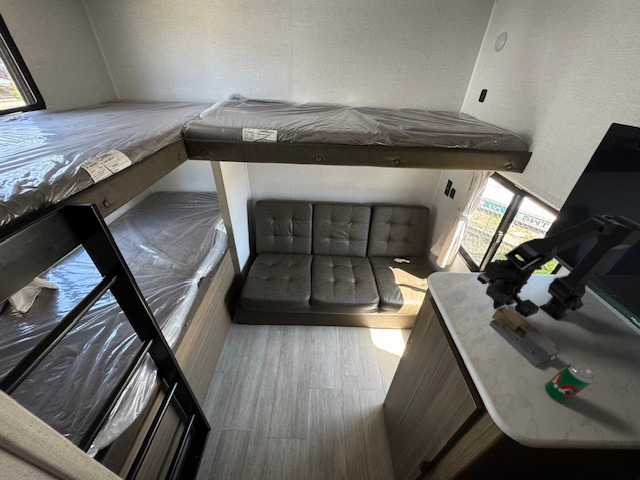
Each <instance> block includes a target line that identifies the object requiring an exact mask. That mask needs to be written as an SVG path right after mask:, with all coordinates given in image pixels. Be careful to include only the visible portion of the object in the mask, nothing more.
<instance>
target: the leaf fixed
mask: <svg viewBox="0 0 640 480" xmlns="http://www.w3.org/2000/svg"><path fill="white" fill-rule="evenodd" d="M488 325H489V326H490V327H491V328H492V329H493V330H494V331H495V332H497V334H498V335H499V336H501V337H502V338H503V339H504V340H505V341H506V342H507V343H508V344H509V345H510V346H511V347H512V348H513V349H515V350H516V351H517V352H518V353H519V354H521V356H522V357H524V359H525V360H527V362H529V363H530V364H531V365H532V366H533V367H537V366H539V365H541V364H543V363H546V362H547V361H549V360H551V361H553V360H554V359H556V356H555V355H556V354H557V353H558V352H559V350H558V349H556V348H555V347H553V346H552V345H550V344H549V343H548V342H547V341H545V340H544V339H543V338H542V337H540V336H539V335H538V334H537V333H536V332H534V331H531V332H529V333H527V334H525V335H524V336H522V337H520V336H519V335H518V334H517V332H514V331H512V330H511V329H510V328H509V327H508V326H507V325H506V324H504V323H503V322H502V321H501V320H500V319H499V318H498V319H493V320H491V321H490V322H489V324H488Z"/></svg>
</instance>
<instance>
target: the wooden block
mask: <svg viewBox="0 0 640 480" xmlns="http://www.w3.org/2000/svg"><path fill="white" fill-rule="evenodd" d="M491 318H492V319H493V320H495V319H498V318H499V319H500V320H501V321H502V322H503V323H504V324H506V325H507V326H508V327H509V328H510V329H511V330H512V331H514V332H515V333H517V332H519V333H520V334H521V335H522V337H524V335H525V334H527V333H529V332H531V331H534V332H536V333H537V334H538V335H539V336H540V337H542V338H543V339H544V340H545V341H547V342H548V343H549V344H550V345H552V346H553V347H554V348H555V347H557V344H556V343H554V342H553V341H552V340H551V339H549V338H548V337H547V336H546V335H545V334H543V333H542V332H541V331H539V330H538V328H536V327H535V326H534V325H532V324H531V323H530V322H528V321H527V320H526V319H525V318H524V317H523V316H522V315H521V314H519V313H518V312H517V311H516V310H514V309H512V308H511V307H506V306H505V305H503V306H501V307H500V308H498V309H495V312H494V313H493V315H492V316H491Z"/></svg>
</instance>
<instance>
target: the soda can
mask: <svg viewBox="0 0 640 480" xmlns="http://www.w3.org/2000/svg"><path fill="white" fill-rule="evenodd" d="M594 378H595V377H594V374H593V372H592V371H591V370H590V369H589V368H588V367H586V366H585V365H584V364H582V363H579V362H573V363H568V364H567V365H566V366H565V367H563V368H562V369H561V370H559V372H558V373H557V374H556V375H554V376H553V377H552V378H551V379H550V380H548V381H547V382H546V383H545V385H544V389H545V391H546V393H547V395H549V397H551V398H552V399H553V400H555V401H557V402H560V403H566V402H567V401H569V400H570V399H572V398H573V397H575V396H576V395H577V394H578V393H580V392H581V391H582V390H584V389H586V387H589V386H590V384H592V383H593V381H594Z"/></svg>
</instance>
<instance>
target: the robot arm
mask: <svg viewBox="0 0 640 480" xmlns="http://www.w3.org/2000/svg"><path fill="white" fill-rule="evenodd" d="M594 238H596V243H595V244H594V245H593V246H592V247H590V249H589V251H588V252H587V253H585V255H584V256H582V258H581V259H580V260H579V261H578V263H577V264H576V265H575V266H574V267H573V268H572V269H571V270H570V272H569V273H568V274H567V275H564V276H561V277H555V278H554V279H553V281H551V282H550V283H548V289H547V293H548V294H550V295H551V297H550V298H549V300H547V302H546V303H544V304H542V305H539V306H538V305H537V304H536V303H535V302H534V301H532V300H530V299H529V298H528V299H525V300H522V299H521V298H522V297H521V295H519V294H520V293H521V292H522V289H523V287H524V286H525V285H527V284H528V283H529V282H528V280H530V278H531V277H532V275H533V274H534V272H535V271H540V270H543V268H542V267H543V266H544V265H546V264H547V263H549V262H551V261H552V260H553V259H554V258H555V257H556V255H557V254H559V253H561V252H562V251H565V250H567V249H571V248H572V247H574V246H577V245H579V244H582V243H585V242H587V241H589V240H592V239H594ZM639 241H640V223H638V222H635V221H633V220H631V219H629V218H627V217H625V216H622V215H615V216H613V215H612V216H610V215H607V214H603V215H600V214H595V215H592V216H590V217H589V218H588V219H587V220H585V221H583V222H581V223H577V224H575V225H574V226H572V227H569V228H567V229H564V230H562V231H560V232H558V233H555V234H553V235H551V236H547V237H540V238H539V237H537V238H533V239H530V240H527V241H524V242H522V243H520V244H518V245H517V246H516V247H513V249H511V250H509V251H508V252H507V253H505V254H504V257H505V258H506V259H494V261H489V262H488V263H486V264H485V266H484V272H481V273H480V274H478V276H477V278H476V280H477V281H478V282H480V283H481V284H482V285H488V282H490V283H491V285H488V286H487V287H486V291H485V295H486V296H488V297H489V298H491V300H493V305H492V306H493V307H492V308H493V309H494V310H497V309H499V308H501V307H504V306H505V305H506V306H512V305H514V304H515V306H514V311H515V312H516V313H517V314H518V315H520V316H521V317H522V318H528V317H530V316H533V315H536V314H538V312H539V311H540V310H542V311H543V312H544V313H546V314H547V315H549V316H550V317H551V318H552V319H554V320H556V321H558V320H561V319H563V318H566V317H567V316H568V314H567V312H568V311H570V310H571V311H572V312H575V311H577V310H580V309H581V308H582V307H584V303H583V301H582V298H583V297H584V296H585V295H586V287H587V286H586V285H587V283H588V282H589V281H590V280H591V279H592V278H593V277H594V275H596V274H597V272H598V271H599V270H600V269H601V268H602V267H603V266H605V264H607V262H608V261H609V260H610V259H611V258H612V257H613V256H614V255H615V254H616V253H617V252H618V251H619V250H621V249H625V248H628V247H632V246H633V245H635V244H636V243H638V242H639ZM518 256H519V257H518ZM520 258H521V259H520ZM497 280H498V281H497Z"/></svg>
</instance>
